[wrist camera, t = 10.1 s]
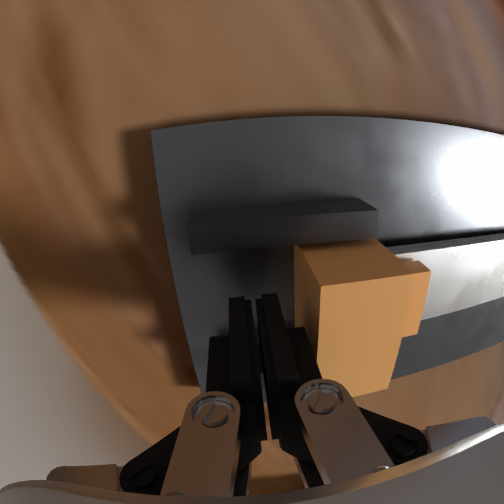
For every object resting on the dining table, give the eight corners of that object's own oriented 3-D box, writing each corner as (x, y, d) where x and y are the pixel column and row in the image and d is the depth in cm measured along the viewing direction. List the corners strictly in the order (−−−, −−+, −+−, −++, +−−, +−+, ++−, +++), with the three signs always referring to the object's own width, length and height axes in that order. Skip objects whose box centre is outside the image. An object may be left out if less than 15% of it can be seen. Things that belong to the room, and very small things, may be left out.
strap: (534, 276, 14) (543, 282, 13) (361, 320, 13) (369, 333, 12) (546, 226, 13) (556, 232, 12) (369, 248, 12) (379, 257, 11)
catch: (391, 322, 14) (429, 376, 10) (294, 338, 14) (313, 404, 10) (406, 226, 12) (462, 265, 8) (293, 236, 12) (320, 286, 8)
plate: (512, 322, 18) (536, 345, 14) (206, 387, 17) (204, 434, 14) (547, 147, 12) (583, 157, 9) (159, 130, 11) (133, 131, 8)
